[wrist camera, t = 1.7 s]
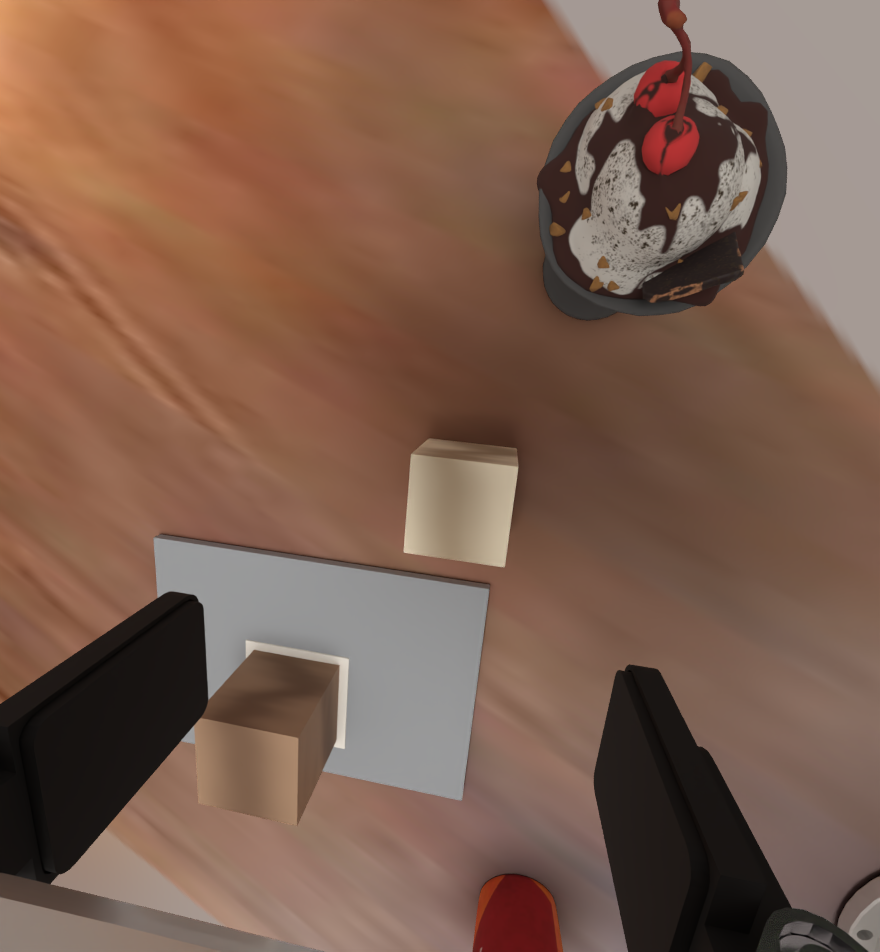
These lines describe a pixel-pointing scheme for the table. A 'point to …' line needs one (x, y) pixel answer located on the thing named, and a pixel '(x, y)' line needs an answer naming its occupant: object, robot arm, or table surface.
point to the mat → (349, 649)
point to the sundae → (659, 186)
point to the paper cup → (516, 917)
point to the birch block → (461, 501)
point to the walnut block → (267, 736)
